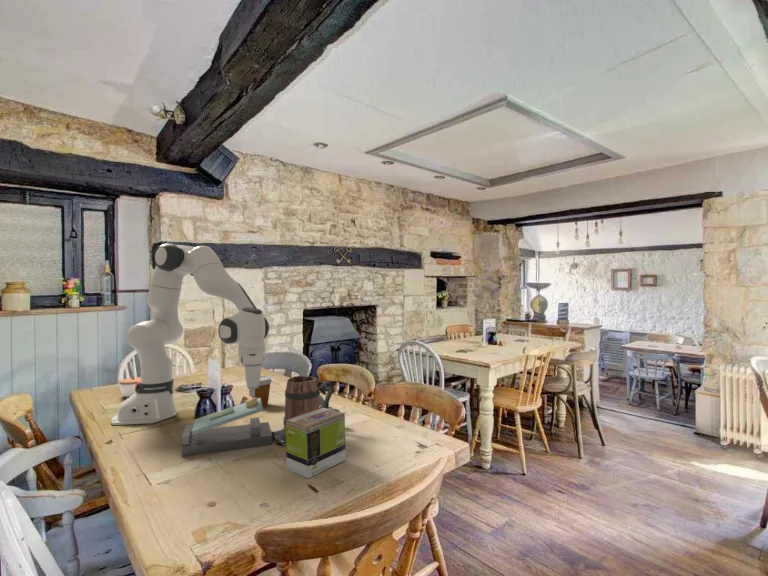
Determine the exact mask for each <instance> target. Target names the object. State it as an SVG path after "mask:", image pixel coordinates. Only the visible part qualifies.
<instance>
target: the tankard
mask: <svg viewBox="0 0 768 576" xmlns="http://www.w3.org/2000/svg"><path fill="white" fill-rule="evenodd" d="M327 385H328V391H327ZM334 387H335V386H334V384H333V383H332V381H329V380H325V381H323V382H322V383H321V384H320V386H319V383H318V379H317V377H314V376H305V375H296V376H292V377H290V378H288V379H287V382H286V387H285V390H284V397H285V399H284V416H283V428H282V429H281V431H280V433H279V434H280V435H279V434H278V435H279V437H280V439H281V440H283V441H285V442H286V420H287V419H290V418H293V417H296V416H299V415H302V414H305V413H308V412H311V411H314V410H317V409H319V407H320V406H319V391H321V393H320V394H322V395H324V396H325V397H324V401H325V402H324V408H327V409H328V407H330V405H329V403H330V400H331V398H332V395H333V393H334V389H335V388H334ZM333 410H334V411H338V412H341V411H340V410H339V409H337V408H333Z"/></svg>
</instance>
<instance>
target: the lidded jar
mask: <svg viewBox="0 0 768 576" xmlns="http://www.w3.org/2000/svg"><path fill="white" fill-rule="evenodd" d="M138 381H141V376H136V377H135V375H132V376H131V377H128V378H124V379H121V380H119V382H118V383H119V390H120V392H121V394H122V395H123V396H124V397H125V398H127V397H130V396H131V395H133V394H134V393H135V392H136V391H135V385H136V383H137V382H138Z"/></svg>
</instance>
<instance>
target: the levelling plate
mask: <svg viewBox="0 0 768 576" xmlns="http://www.w3.org/2000/svg"><path fill="white" fill-rule="evenodd" d="M260 412H264V407H262V403H261V399H260V398H258V399H257V397H254V398H252V397H250V398H248V399H246V400H245V401H244V402H243V403H239V404H237V405H234V406H231V407H228V408H225V409H222V410H219V411H216V412H213V413H211V414H207V415H204V416H201V417H198V418H195V419H194V422H193V428H192V435H194V434H197V433H200V432H203V431H206V430H209V429H212V428H218V427H220V426H223V425H227V424H228V423H232V422H235V421H237V420H241V419H243V418H246V417H250V416H252V415H254V414H255V415H256V414H257V413H260Z"/></svg>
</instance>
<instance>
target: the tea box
mask: <svg viewBox="0 0 768 576" xmlns="http://www.w3.org/2000/svg"><path fill="white" fill-rule="evenodd" d="M345 418H346V416H345V412H341V411H340V412H338V411H334V410H330V409H327V408H324V407H323V408H320V409H317V410H314V411H311V412H308V413H305V414H302V415H299V416H296V417H293V418H290V419H287V420H286V443H285V457H286V462H285V464H286V469H287V470H289V471H290V472H293V473H295V474H297V475H298V476H299V475H300V476H301V477H304V478H305V479H309V478H312V477H314V476H316V475H318V474H320V473H321V472H324V471H326V470H328V469H330V468H332V467H334V466H336V465H338V464H340V463H343V462H344V461H346V460H347V458H346V457H347V455H346V453H347V452H346V451H347V450H346V420H345Z"/></svg>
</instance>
